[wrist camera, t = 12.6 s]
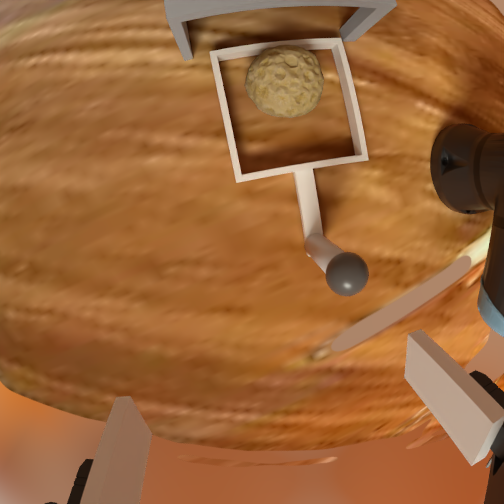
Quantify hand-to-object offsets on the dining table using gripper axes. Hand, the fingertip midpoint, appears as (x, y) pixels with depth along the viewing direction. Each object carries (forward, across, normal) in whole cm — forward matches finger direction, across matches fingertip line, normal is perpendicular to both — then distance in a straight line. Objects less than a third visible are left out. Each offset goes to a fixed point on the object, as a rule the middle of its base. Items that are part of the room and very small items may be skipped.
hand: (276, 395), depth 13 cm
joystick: (+30, -10, -10) cm, 34 cm away
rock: (+31, -10, -19) cm, 38 cm away
